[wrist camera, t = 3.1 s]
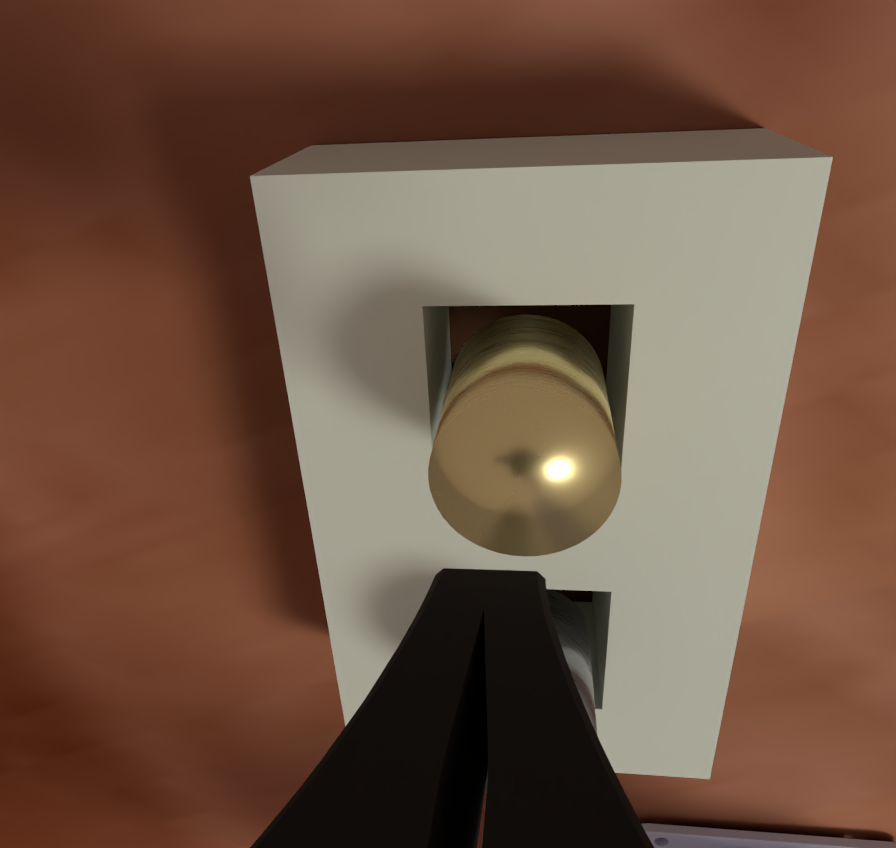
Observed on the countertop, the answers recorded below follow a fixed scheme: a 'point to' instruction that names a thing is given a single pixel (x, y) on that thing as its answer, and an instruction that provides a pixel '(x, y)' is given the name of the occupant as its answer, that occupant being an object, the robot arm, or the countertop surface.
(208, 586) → the countertop surface
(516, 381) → the brass peg
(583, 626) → the steel peg
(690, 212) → the socket block
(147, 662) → the countertop surface
